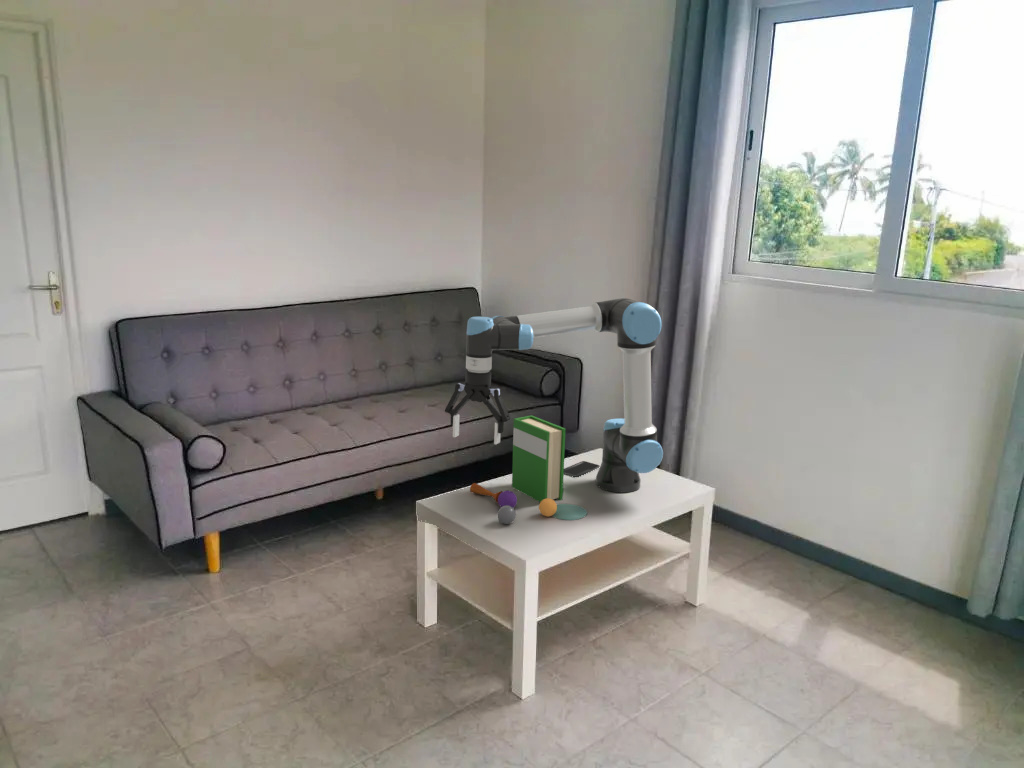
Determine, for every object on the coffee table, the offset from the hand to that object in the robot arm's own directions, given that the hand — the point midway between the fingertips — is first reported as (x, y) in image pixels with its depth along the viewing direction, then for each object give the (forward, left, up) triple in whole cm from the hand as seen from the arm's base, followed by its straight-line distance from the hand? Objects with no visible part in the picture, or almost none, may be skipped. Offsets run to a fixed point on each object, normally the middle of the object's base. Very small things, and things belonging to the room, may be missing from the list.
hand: (476, 439), depth 224 cm
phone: (-40, -37, -25) cm, 60 cm away
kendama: (-6, -10, -25) cm, 27 cm away
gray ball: (-9, +7, -21) cm, 24 cm away
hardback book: (-21, -16, -24) cm, 36 cm away
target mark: (-29, 0, -24) cm, 37 cm away
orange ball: (-22, +2, -21) cm, 31 cm away
